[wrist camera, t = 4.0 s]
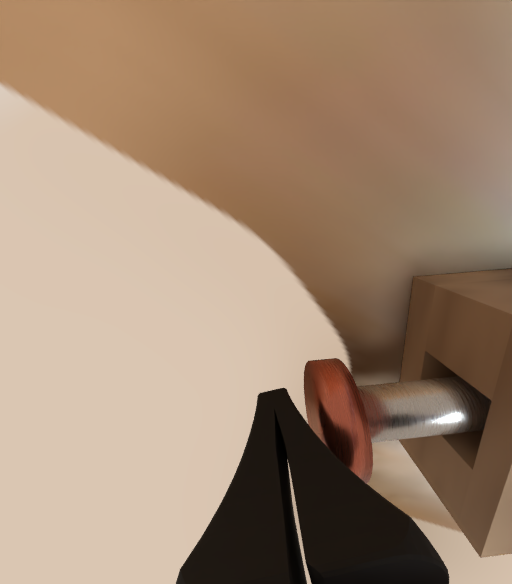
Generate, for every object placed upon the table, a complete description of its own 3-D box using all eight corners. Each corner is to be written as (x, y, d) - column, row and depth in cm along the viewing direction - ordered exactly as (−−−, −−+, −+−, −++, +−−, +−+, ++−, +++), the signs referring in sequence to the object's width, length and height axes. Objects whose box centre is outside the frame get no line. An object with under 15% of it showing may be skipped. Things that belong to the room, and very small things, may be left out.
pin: (541, 319, 13) (705, 378, 8) (517, 396, 14) (645, 482, 10) (303, 341, 12) (340, 417, 8) (304, 418, 14) (335, 519, 9)
